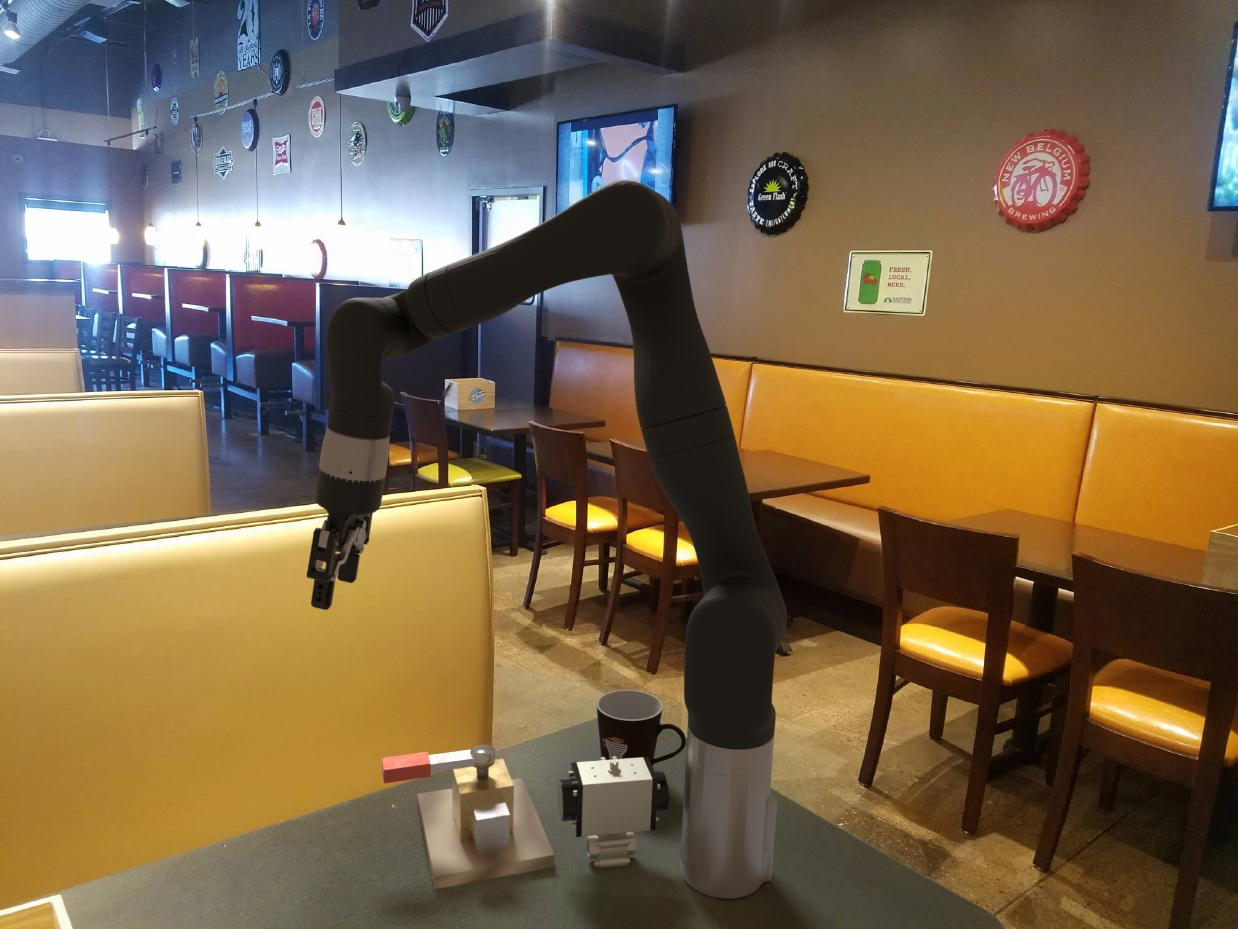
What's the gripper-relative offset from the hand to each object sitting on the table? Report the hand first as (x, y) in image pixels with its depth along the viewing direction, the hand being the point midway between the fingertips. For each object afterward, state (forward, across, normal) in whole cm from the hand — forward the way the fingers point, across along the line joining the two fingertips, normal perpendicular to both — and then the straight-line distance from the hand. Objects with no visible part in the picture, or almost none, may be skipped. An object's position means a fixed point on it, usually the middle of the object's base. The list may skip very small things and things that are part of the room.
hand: (334, 593), depth 105 cm
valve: (+19, -10, -24) cm, 32 cm away
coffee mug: (+18, +3, -41) cm, 45 cm away
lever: (+13, -11, -18) cm, 25 cm away
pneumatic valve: (+18, -13, -39) cm, 45 cm away
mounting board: (+21, -10, -24) cm, 33 cm away
